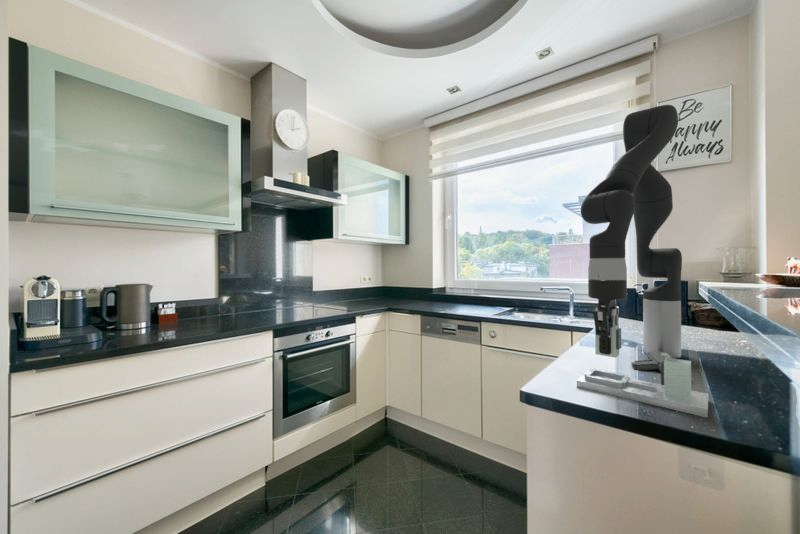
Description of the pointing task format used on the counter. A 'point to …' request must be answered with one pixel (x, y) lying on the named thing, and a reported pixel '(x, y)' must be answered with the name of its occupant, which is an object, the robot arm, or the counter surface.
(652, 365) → the dark grey bracket
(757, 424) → the counter surface
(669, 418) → the counter surface
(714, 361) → the counter surface
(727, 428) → the counter surface
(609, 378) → the rail
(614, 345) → the pale grey upright block
